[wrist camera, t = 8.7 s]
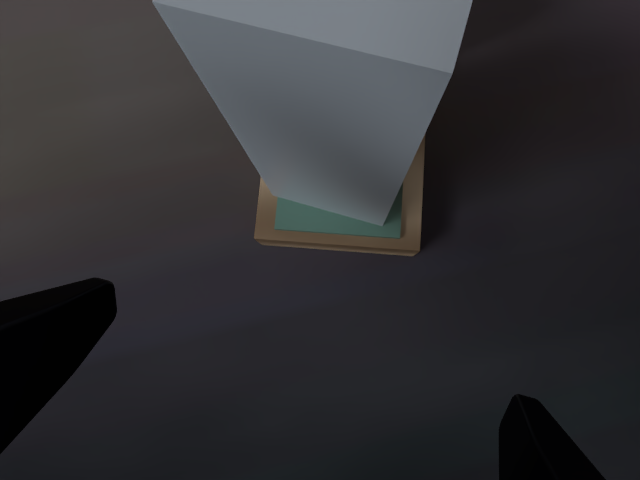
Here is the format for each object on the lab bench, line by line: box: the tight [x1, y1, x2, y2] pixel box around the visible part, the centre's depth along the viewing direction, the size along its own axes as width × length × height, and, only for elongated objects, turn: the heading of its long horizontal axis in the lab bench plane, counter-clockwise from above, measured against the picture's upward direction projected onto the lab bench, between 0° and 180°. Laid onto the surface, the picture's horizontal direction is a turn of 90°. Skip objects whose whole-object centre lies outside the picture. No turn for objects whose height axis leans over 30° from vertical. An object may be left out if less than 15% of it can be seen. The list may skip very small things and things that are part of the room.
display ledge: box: [254, 135, 425, 256], centre depth 19 cm, size 12×8×9 cm, turn 175°
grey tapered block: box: [152, 0, 473, 226], centre depth 14 cm, size 5×6×13 cm
